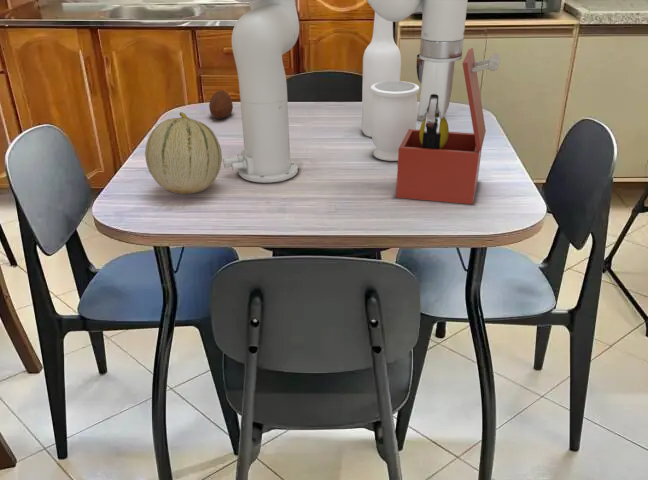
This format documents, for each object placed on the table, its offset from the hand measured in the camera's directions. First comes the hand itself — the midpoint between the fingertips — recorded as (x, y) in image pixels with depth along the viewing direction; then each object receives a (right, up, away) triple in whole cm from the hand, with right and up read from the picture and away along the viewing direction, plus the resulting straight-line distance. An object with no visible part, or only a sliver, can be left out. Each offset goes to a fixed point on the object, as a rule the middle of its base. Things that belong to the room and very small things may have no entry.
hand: (432, 148), depth 131 cm
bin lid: (+6, +7, -7) cm, 11 cm away
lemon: (0, -1, +1) cm, 1 cm away
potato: (-48, +23, +49) cm, 72 cm away
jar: (-6, +5, +22) cm, 23 cm away
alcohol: (-7, +14, +35) cm, 38 cm away
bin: (+2, -7, +4) cm, 8 cm away
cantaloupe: (-49, -7, +6) cm, 49 cm away
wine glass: (+6, +21, +45) cm, 50 cm away
